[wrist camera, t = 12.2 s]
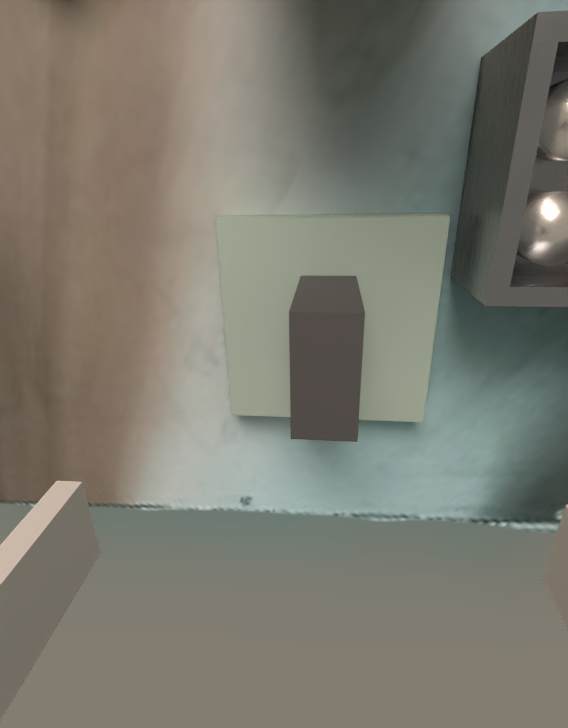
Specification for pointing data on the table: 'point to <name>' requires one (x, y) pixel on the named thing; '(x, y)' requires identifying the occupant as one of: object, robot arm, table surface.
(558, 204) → the instrument box
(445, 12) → the table surface
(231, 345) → the lid
